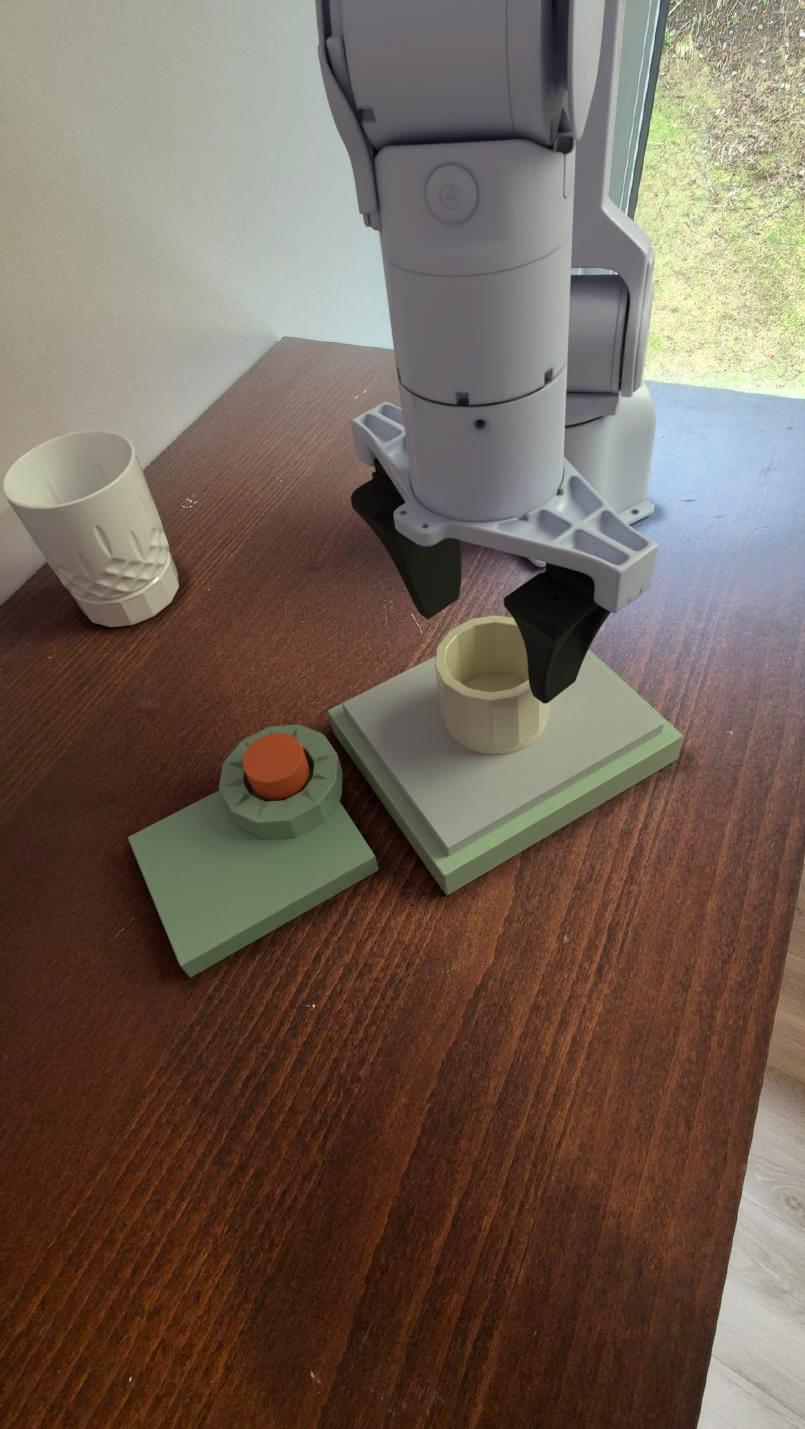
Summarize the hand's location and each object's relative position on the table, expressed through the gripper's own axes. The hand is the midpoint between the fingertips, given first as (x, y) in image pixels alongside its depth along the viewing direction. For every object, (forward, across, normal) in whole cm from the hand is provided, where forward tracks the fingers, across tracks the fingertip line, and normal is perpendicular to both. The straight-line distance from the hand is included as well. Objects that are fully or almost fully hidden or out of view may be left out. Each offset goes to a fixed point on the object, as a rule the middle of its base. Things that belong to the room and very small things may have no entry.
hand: (493, 645), depth 38 cm
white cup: (+8, -27, -8) cm, 29 cm away
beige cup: (+5, 0, 0) cm, 5 cm away
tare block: (+8, -4, -14) cm, 16 cm away
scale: (+8, 0, 0) cm, 8 cm away
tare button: (+5, -5, -10) cm, 12 cm away
